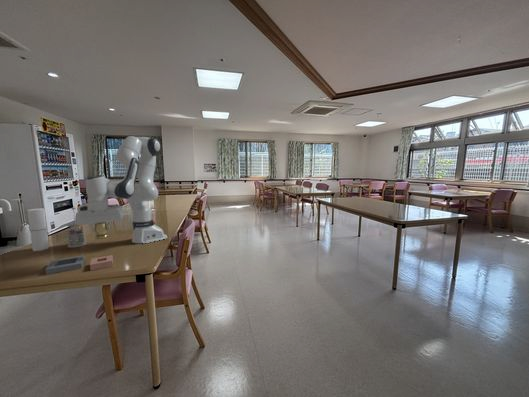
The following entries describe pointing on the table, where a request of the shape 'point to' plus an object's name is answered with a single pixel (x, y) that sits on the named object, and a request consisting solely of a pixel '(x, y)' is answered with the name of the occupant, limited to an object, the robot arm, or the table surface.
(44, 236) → the cylindrical container
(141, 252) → the table surface
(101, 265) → the small socket
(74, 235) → the french press
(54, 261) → the socket block
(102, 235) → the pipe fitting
